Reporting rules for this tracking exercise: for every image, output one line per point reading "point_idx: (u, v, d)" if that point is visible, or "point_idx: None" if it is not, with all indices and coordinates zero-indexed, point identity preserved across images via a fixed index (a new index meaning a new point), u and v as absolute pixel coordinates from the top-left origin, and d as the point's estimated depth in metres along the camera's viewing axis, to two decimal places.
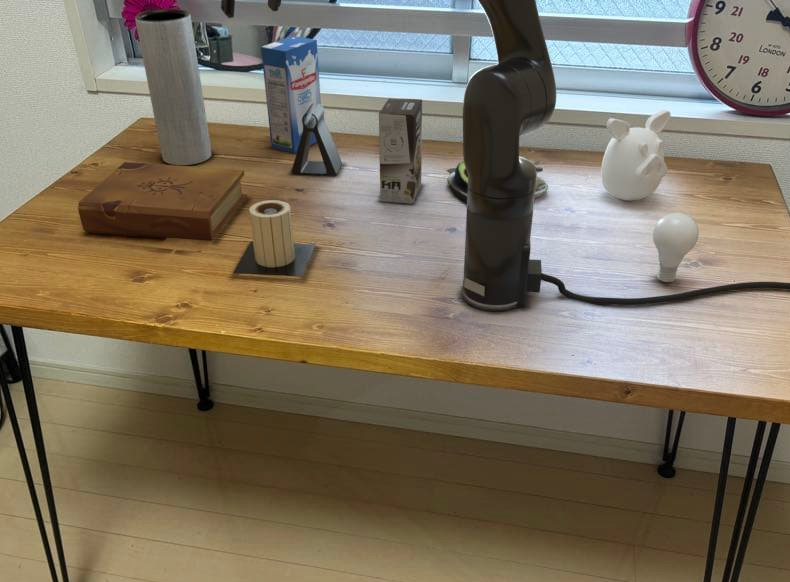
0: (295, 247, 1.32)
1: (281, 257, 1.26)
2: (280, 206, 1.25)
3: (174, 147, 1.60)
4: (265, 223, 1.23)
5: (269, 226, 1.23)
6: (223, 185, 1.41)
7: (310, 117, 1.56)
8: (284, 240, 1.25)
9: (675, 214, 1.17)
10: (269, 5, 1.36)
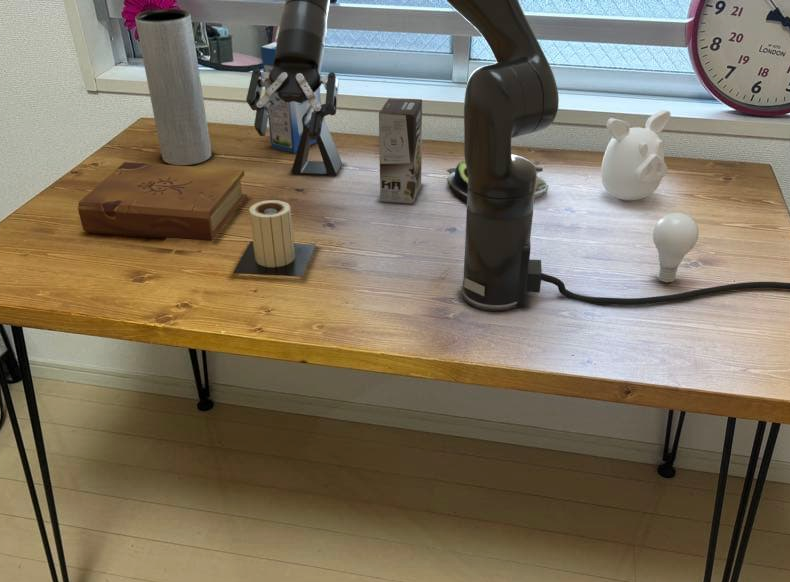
0: (295, 247, 1.32)
1: (281, 257, 1.26)
2: (280, 206, 1.25)
3: (174, 147, 1.60)
4: (265, 223, 1.23)
5: (269, 226, 1.23)
6: (223, 185, 1.41)
7: (310, 117, 1.56)
8: (284, 240, 1.25)
9: (675, 214, 1.17)
10: None
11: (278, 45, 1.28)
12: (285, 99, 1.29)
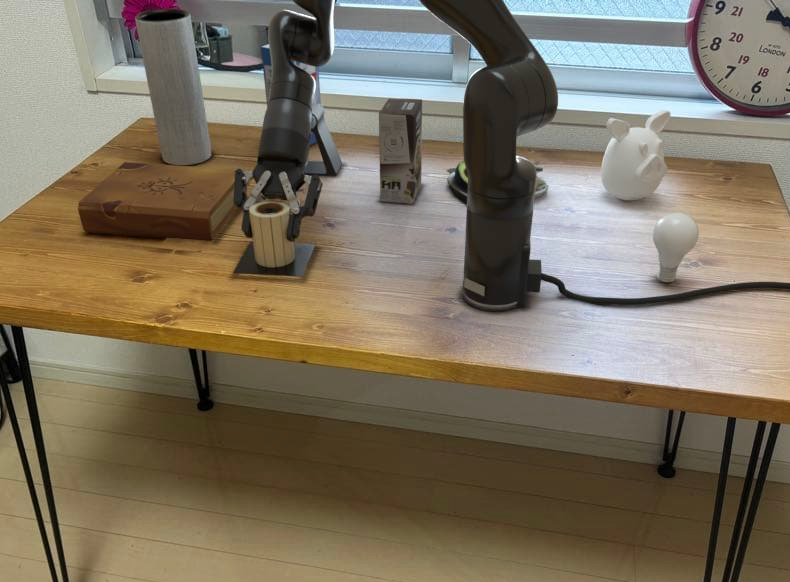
0: (295, 247, 1.32)
1: (281, 257, 1.26)
2: (280, 206, 1.25)
3: (174, 147, 1.60)
4: (265, 223, 1.23)
5: (269, 226, 1.23)
6: (223, 185, 1.41)
7: None
8: (284, 240, 1.25)
9: (675, 214, 1.17)
10: None
11: (261, 143, 1.25)
12: (269, 197, 1.27)
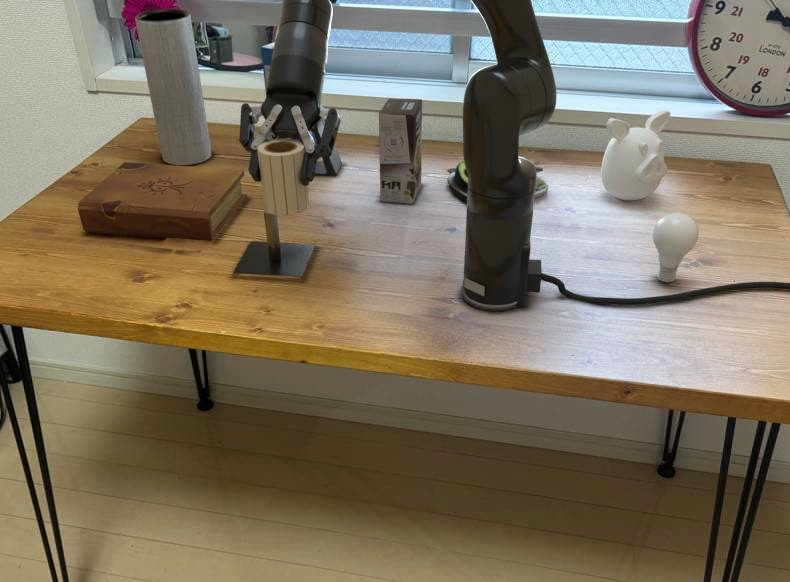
0: (295, 247, 1.32)
1: (293, 203, 1.11)
2: (293, 144, 1.10)
3: (174, 147, 1.60)
4: (276, 163, 1.07)
5: (280, 166, 1.08)
6: (223, 185, 1.41)
7: None
8: (297, 183, 1.10)
9: (675, 214, 1.17)
10: None
11: (271, 73, 1.10)
12: (279, 135, 1.12)
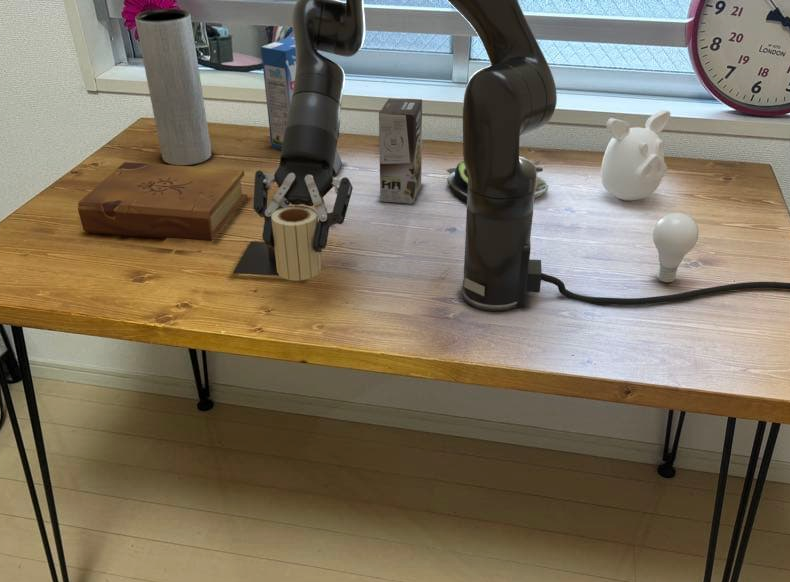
0: None
1: (306, 269, 1.14)
2: (306, 212, 1.12)
3: (174, 147, 1.60)
4: (289, 232, 1.10)
5: (294, 235, 1.10)
6: (223, 185, 1.41)
7: None
8: (310, 250, 1.12)
9: (675, 214, 1.17)
10: None
11: (285, 142, 1.12)
12: (292, 202, 1.14)
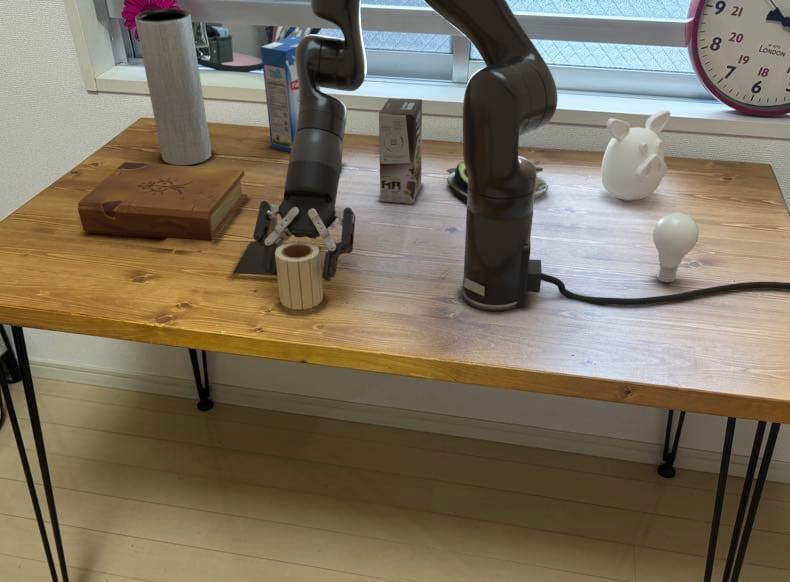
0: None
1: (309, 303, 1.17)
2: (308, 248, 1.16)
3: (174, 147, 1.60)
4: (292, 268, 1.13)
5: (297, 271, 1.13)
6: (223, 185, 1.41)
7: None
8: (312, 285, 1.16)
9: (675, 214, 1.17)
10: None
11: (289, 177, 1.15)
12: (296, 235, 1.17)
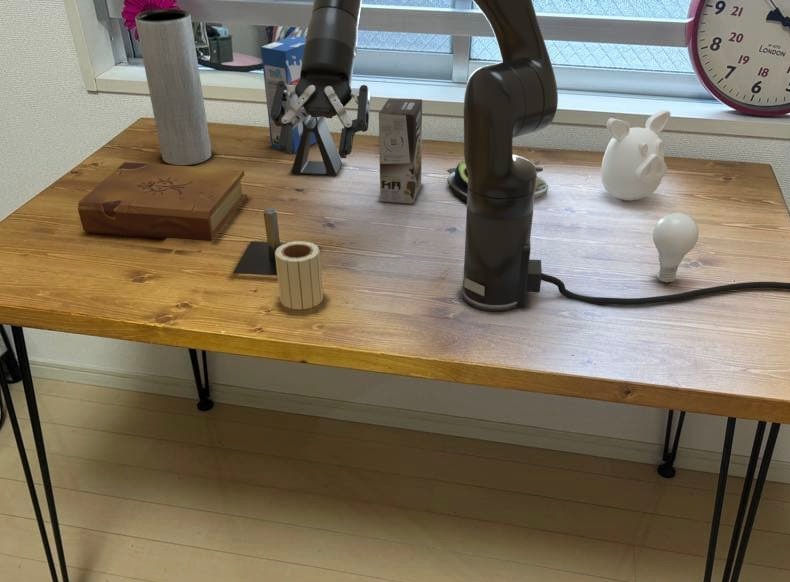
0: None
1: (309, 303, 1.17)
2: (308, 248, 1.16)
3: (174, 147, 1.60)
4: (292, 268, 1.13)
5: (297, 271, 1.13)
6: (223, 185, 1.41)
7: (310, 117, 1.56)
8: (312, 285, 1.16)
9: (675, 214, 1.17)
10: None
11: (305, 56, 1.17)
12: (312, 114, 1.19)
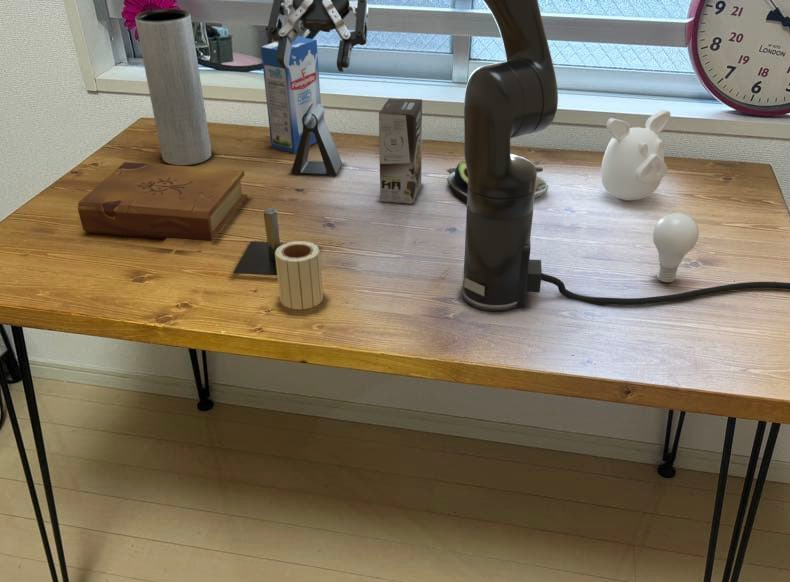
0: None
1: (309, 303, 1.17)
2: (308, 248, 1.16)
3: (174, 147, 1.60)
4: (292, 268, 1.13)
5: (297, 271, 1.13)
6: (223, 185, 1.41)
7: (310, 117, 1.56)
8: (312, 285, 1.16)
9: (675, 214, 1.17)
10: None
11: None
12: (310, 28, 1.17)
